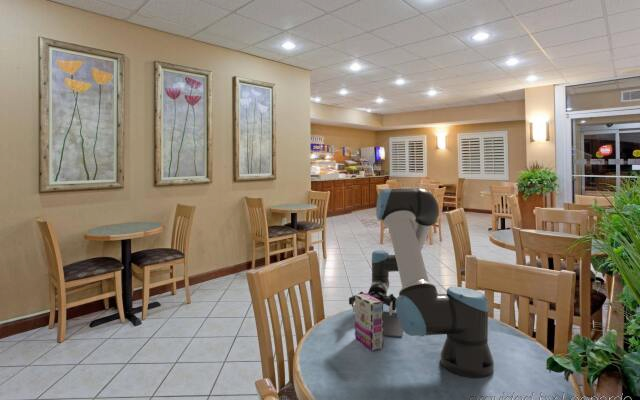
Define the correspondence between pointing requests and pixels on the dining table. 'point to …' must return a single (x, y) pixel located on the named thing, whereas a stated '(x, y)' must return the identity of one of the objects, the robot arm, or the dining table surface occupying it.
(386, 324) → the charcoal mat
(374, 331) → the candy bar box
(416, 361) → the dining table surface
